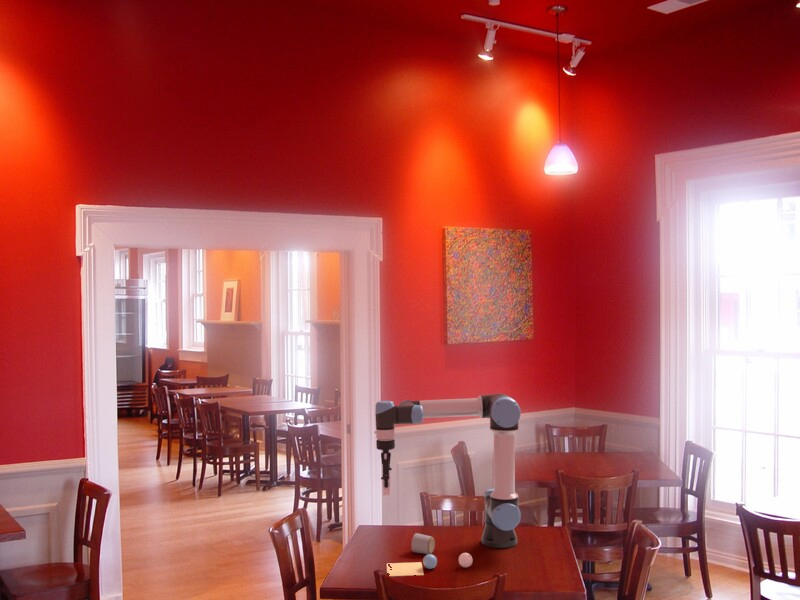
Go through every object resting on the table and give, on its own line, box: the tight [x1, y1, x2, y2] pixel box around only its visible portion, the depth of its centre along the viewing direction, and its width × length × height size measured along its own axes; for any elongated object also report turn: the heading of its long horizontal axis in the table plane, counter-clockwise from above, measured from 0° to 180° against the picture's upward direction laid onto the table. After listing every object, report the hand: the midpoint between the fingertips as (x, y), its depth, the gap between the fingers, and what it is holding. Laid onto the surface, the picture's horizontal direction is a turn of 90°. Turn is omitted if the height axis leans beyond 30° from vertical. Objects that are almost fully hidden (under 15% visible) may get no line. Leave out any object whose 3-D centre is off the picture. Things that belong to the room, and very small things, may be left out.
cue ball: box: [458, 552, 473, 568], centre depth 306 cm, size 6×6×6 cm
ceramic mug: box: [410, 532, 436, 555], centre depth 325 cm, size 11×8×8 cm
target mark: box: [386, 561, 425, 577], centre depth 305 cm, size 14×14×1 cm
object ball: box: [422, 553, 438, 570], centre depth 305 cm, size 6×6×6 cm
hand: (386, 490), depth 319 cm, fingers open, 13 cm apart
